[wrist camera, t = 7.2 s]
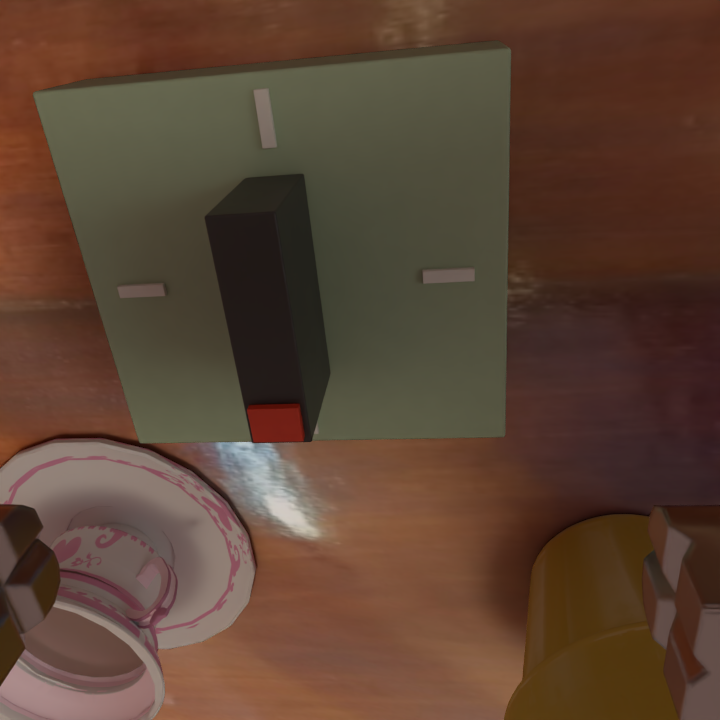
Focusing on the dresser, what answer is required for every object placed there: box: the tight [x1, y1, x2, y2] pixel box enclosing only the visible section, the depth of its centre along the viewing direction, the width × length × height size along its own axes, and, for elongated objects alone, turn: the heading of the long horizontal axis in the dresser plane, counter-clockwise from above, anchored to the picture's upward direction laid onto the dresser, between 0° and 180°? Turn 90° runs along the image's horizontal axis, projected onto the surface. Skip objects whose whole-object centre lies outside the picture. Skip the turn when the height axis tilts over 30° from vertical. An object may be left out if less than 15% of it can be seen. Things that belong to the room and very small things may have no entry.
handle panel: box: [33, 40, 511, 443], centre depth 20 cm, size 12×11×3 cm
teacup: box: [0, 438, 256, 720], centre depth 26 cm, size 12×12×6 cm
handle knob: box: [204, 174, 331, 443], centre depth 17 cm, size 6×2×4 cm, turn 5°
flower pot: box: [504, 514, 679, 720], centre depth 22 cm, size 10×10×10 cm
